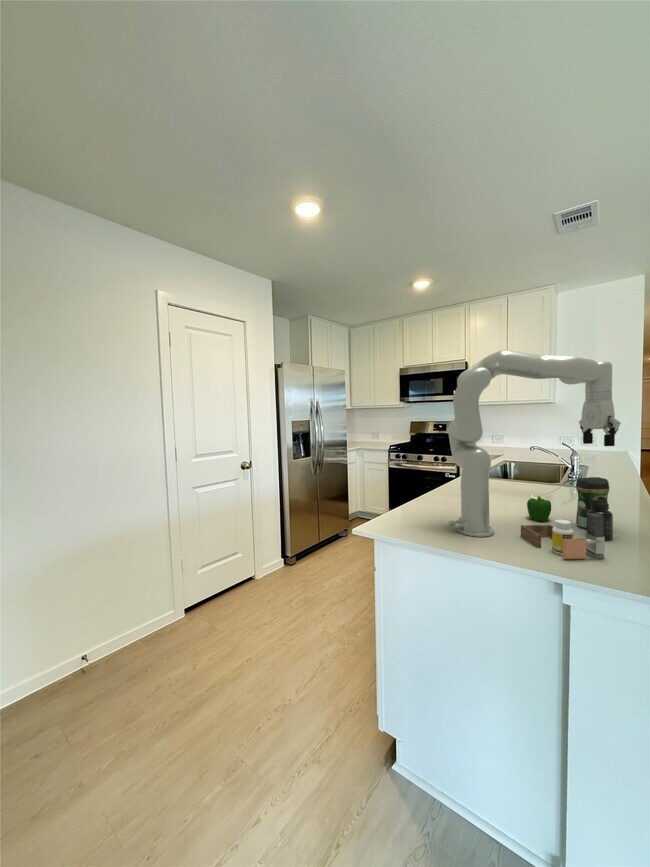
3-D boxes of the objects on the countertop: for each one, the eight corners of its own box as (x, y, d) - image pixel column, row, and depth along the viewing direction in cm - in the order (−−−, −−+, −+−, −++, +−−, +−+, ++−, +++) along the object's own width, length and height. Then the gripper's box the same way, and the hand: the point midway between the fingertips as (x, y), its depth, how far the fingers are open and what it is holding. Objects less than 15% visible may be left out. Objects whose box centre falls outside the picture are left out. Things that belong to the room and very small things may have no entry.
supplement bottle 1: (563, 557, 103) (563, 524, 103) (547, 550, 109) (547, 519, 108) (577, 554, 105) (577, 522, 104) (561, 548, 110) (561, 517, 109)
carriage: (565, 559, 101) (565, 518, 100) (556, 553, 105) (556, 514, 104) (605, 557, 101) (605, 516, 100) (594, 552, 105) (594, 512, 104)
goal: (538, 547, 111) (537, 535, 111) (520, 536, 121) (520, 525, 121) (569, 546, 111) (569, 534, 111) (549, 535, 121) (549, 524, 120)
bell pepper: (530, 515, 144) (530, 491, 144) (553, 519, 138) (553, 494, 138) (523, 519, 139) (523, 495, 138) (547, 524, 132) (547, 498, 132)
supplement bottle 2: (607, 534, 119) (607, 500, 119) (616, 541, 113) (617, 505, 112) (584, 533, 122) (584, 499, 121) (591, 540, 115) (591, 504, 115)
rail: (595, 559, 101) (595, 555, 101) (556, 537, 118) (556, 534, 118) (604, 558, 101) (604, 554, 101) (563, 537, 118) (563, 534, 118)
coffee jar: (597, 523, 131) (597, 475, 130) (614, 530, 123) (614, 479, 122) (571, 524, 131) (571, 476, 130) (586, 531, 123) (586, 480, 122)
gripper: (570, 398, 132) (570, 443, 133) (607, 396, 115) (607, 447, 116) (590, 397, 132) (590, 442, 133) (630, 395, 115) (629, 446, 116)
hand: (598, 444), depth 124 cm, fingers open, 9 cm apart
